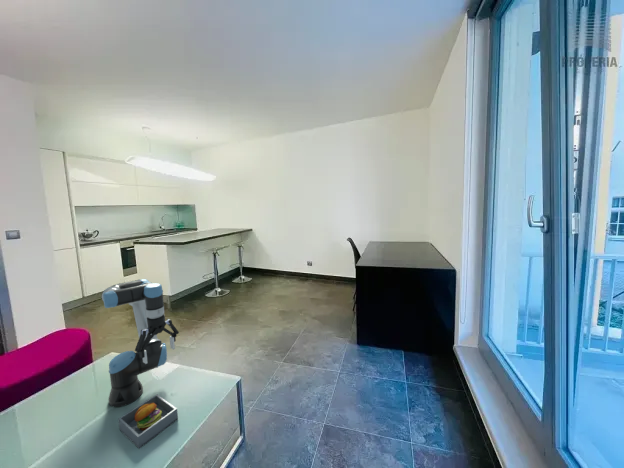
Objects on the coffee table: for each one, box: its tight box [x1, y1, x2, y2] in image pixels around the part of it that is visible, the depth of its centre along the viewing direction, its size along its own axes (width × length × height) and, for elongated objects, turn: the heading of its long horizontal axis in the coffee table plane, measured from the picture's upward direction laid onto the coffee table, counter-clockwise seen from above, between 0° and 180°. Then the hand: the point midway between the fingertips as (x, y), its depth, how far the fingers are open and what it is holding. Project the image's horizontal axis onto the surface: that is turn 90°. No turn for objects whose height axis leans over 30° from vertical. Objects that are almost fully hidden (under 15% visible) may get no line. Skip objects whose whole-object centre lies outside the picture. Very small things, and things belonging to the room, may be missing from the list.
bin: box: [117, 393, 179, 450], centre depth 125 cm, size 18×18×6 cm
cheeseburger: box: [135, 403, 162, 431], centre depth 124 cm, size 10×11×10 cm
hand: (159, 355), depth 132 cm, fingers open, 13 cm apart
